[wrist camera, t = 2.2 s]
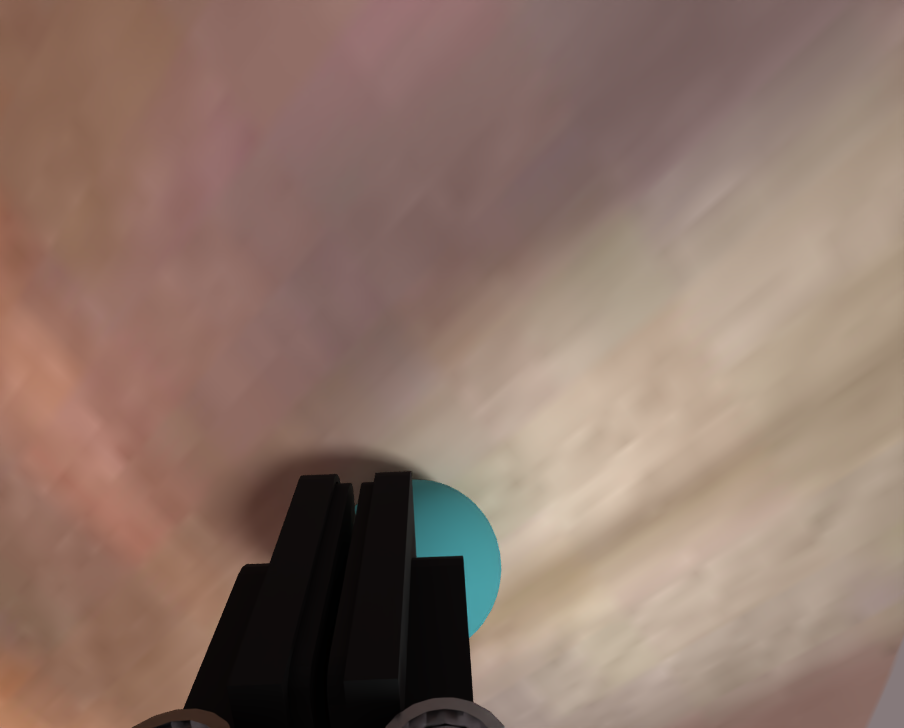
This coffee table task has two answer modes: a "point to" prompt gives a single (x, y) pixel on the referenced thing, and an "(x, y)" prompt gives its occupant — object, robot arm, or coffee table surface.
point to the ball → (458, 542)
